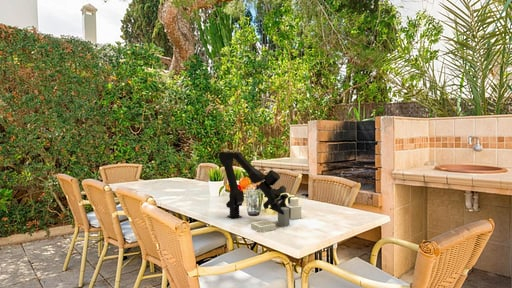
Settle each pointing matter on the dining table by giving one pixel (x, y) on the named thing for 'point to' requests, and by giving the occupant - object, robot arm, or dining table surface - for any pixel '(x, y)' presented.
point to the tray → (263, 226)
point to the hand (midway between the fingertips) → (285, 213)
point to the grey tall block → (283, 217)
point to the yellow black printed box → (294, 208)
